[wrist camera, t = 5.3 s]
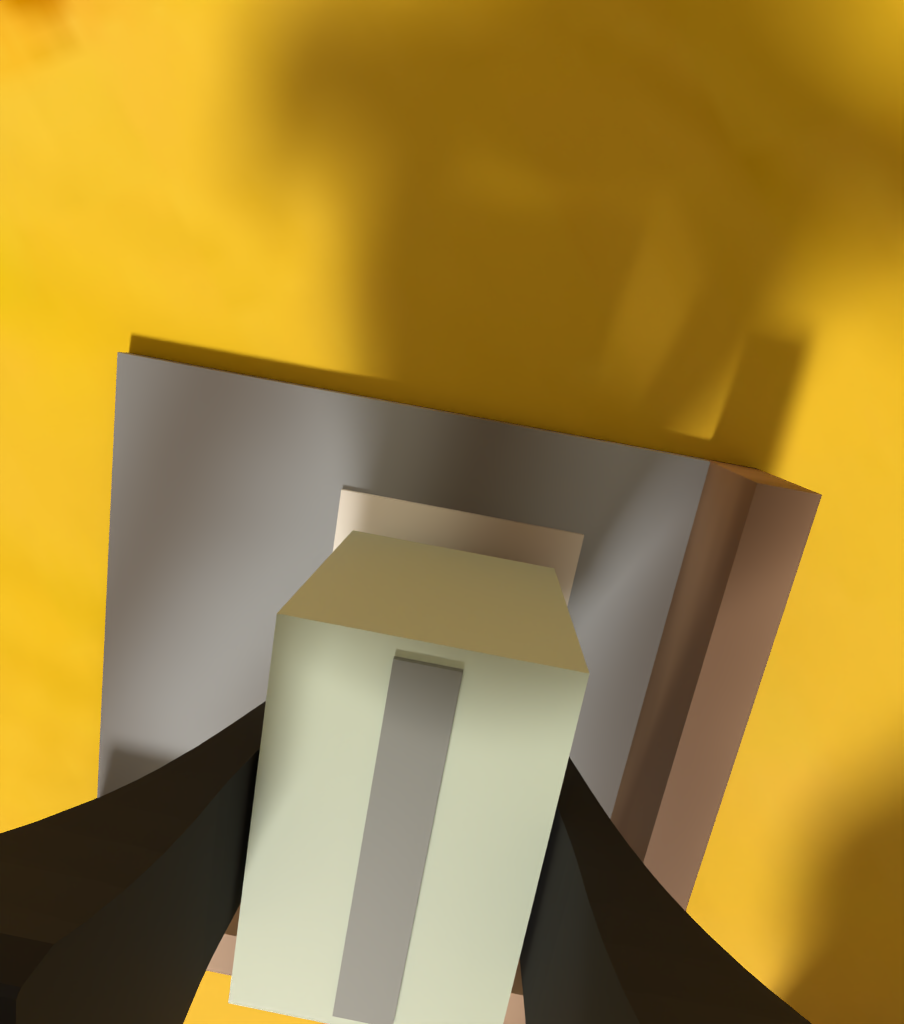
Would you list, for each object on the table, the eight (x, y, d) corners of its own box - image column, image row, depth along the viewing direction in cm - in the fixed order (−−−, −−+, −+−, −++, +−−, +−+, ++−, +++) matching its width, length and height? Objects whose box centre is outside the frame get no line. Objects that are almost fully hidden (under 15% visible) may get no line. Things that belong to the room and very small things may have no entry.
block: (493, 839, 15) (494, 1064, 10) (312, 803, 15) (226, 1008, 10) (554, 568, 14) (590, 676, 9) (353, 530, 14) (274, 616, 9)
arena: (756, 468, 14) (821, 495, 12) (613, 946, 18) (636, 1059, 15) (127, 352, 15) (37, 349, 12) (103, 842, 18) (28, 933, 15)
